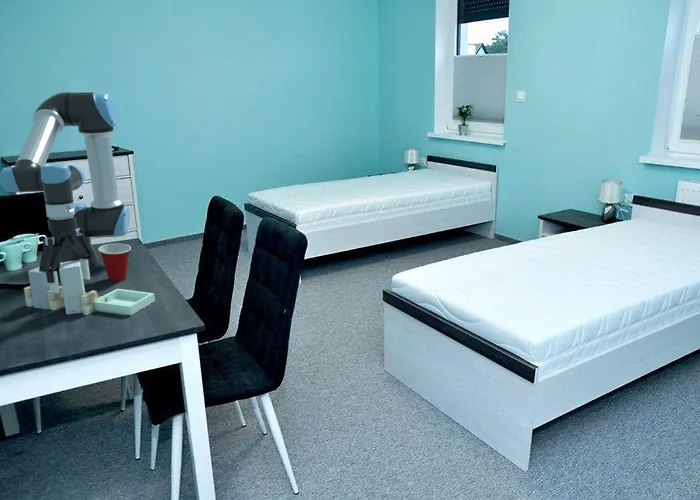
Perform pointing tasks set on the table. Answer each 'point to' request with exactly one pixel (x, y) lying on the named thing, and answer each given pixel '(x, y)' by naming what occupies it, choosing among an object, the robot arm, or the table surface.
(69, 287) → the skincare box
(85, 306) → the beige elongated piece
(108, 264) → the plastic cup
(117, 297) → the tray
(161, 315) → the table surface
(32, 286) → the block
